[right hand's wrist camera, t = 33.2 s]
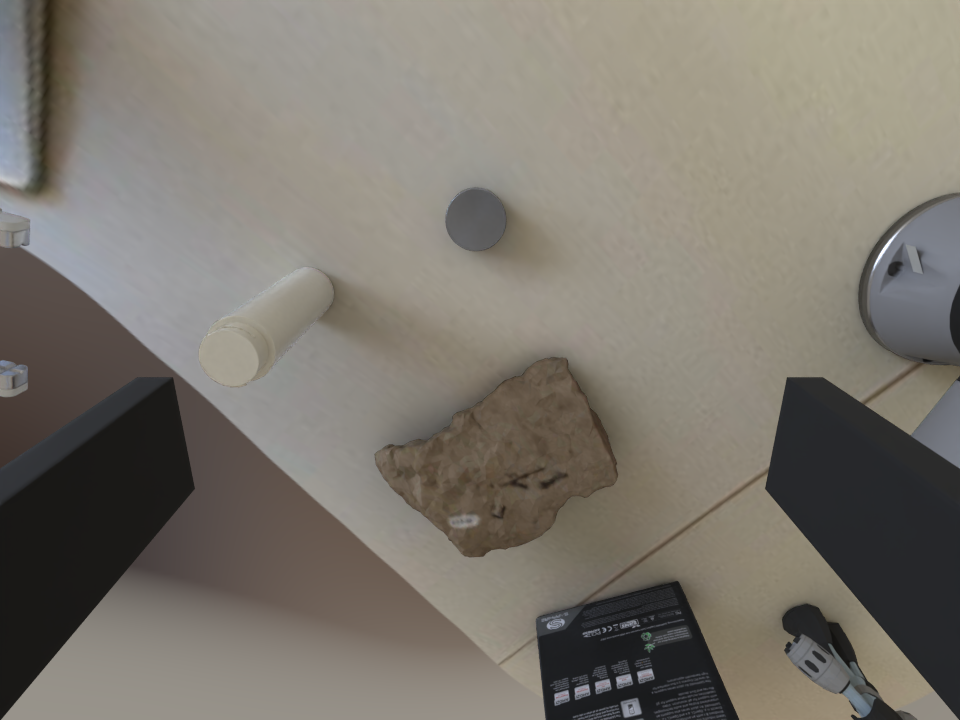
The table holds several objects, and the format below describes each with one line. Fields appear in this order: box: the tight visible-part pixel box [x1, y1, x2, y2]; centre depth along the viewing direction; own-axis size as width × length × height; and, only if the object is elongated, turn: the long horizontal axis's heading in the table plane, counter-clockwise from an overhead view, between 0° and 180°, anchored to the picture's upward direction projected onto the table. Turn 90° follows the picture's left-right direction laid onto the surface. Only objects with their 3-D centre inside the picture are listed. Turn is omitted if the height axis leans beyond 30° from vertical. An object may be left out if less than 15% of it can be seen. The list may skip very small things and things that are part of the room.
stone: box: [375, 357, 618, 557], centre depth 56 cm, size 21×15×6 cm
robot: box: [782, 604, 917, 720], centre depth 57 cm, size 20×5×20 cm, turn 51°
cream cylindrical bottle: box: [199, 267, 334, 387], centre depth 45 cm, size 5×5×18 cm
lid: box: [446, 188, 506, 251], centre depth 50 cm, size 5×5×2 cm
